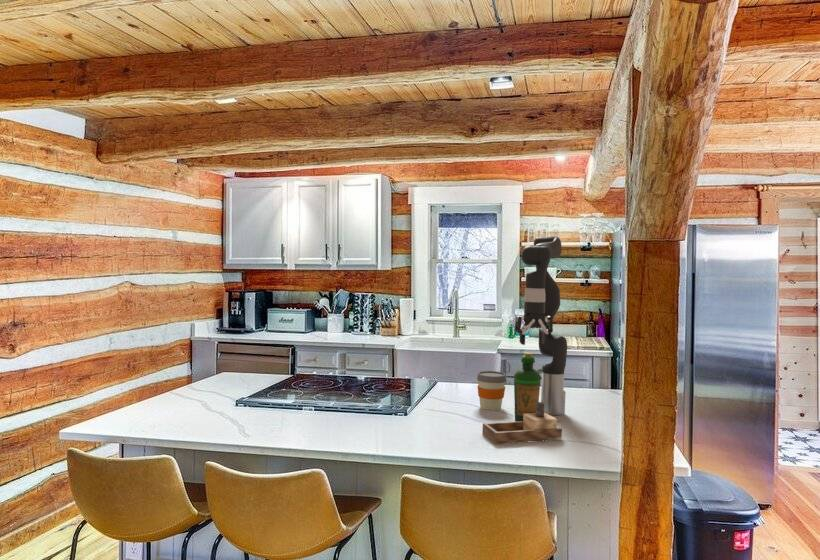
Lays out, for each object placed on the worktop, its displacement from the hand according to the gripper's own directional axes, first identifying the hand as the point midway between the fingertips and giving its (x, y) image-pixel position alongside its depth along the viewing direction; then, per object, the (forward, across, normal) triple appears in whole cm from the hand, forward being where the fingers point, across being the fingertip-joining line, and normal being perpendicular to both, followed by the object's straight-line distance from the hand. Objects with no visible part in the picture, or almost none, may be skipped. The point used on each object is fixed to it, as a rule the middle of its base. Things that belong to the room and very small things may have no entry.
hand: (533, 344), depth 220 cm
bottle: (+34, -6, -16) cm, 38 cm away
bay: (+34, +4, +1) cm, 34 cm away
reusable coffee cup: (+34, -1, -40) cm, 53 cm away
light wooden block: (+33, -3, +1) cm, 33 cm away
